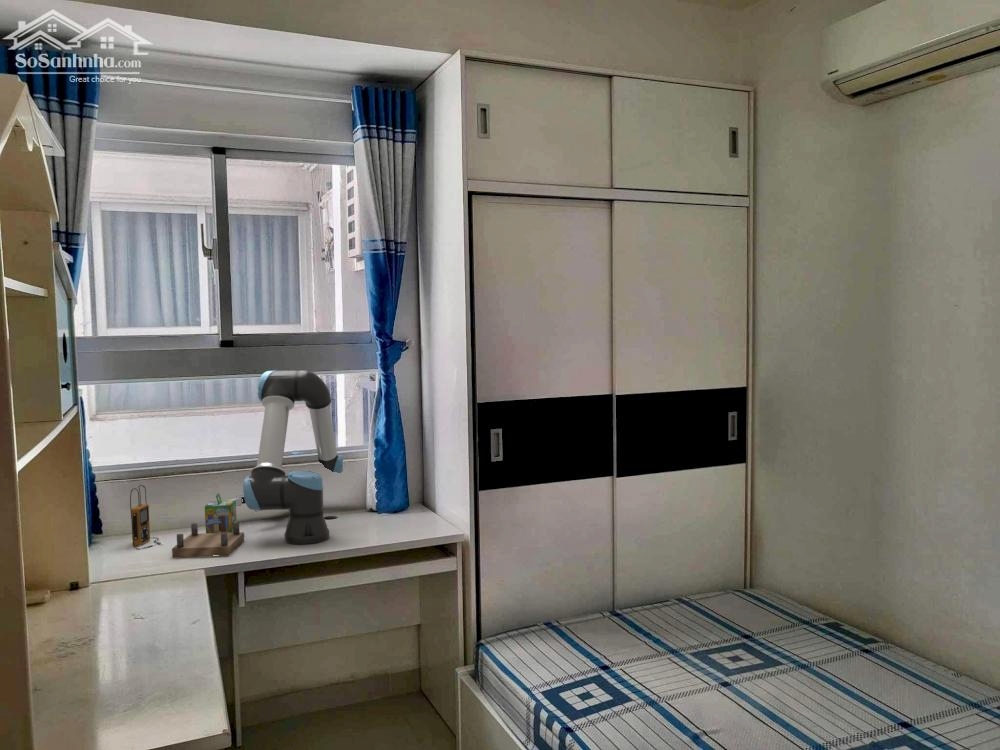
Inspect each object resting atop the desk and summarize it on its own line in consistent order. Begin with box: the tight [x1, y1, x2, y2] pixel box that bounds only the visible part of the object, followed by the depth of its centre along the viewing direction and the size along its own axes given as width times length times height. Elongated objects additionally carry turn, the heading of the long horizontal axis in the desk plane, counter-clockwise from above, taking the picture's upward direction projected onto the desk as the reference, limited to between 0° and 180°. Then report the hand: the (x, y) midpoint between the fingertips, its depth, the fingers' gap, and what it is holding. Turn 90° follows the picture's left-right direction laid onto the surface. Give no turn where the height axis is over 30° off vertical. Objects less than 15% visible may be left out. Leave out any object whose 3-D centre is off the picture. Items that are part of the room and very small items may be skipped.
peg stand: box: [171, 521, 245, 558], centre depth 259 cm, size 18×18×7 cm
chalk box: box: [204, 492, 238, 533], centre depth 276 cm, size 9×9×15 cm
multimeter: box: [129, 484, 163, 550], centre depth 266 cm, size 15×10×20 cm
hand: (241, 506), depth 285 cm, fingers open, 13 cm apart
